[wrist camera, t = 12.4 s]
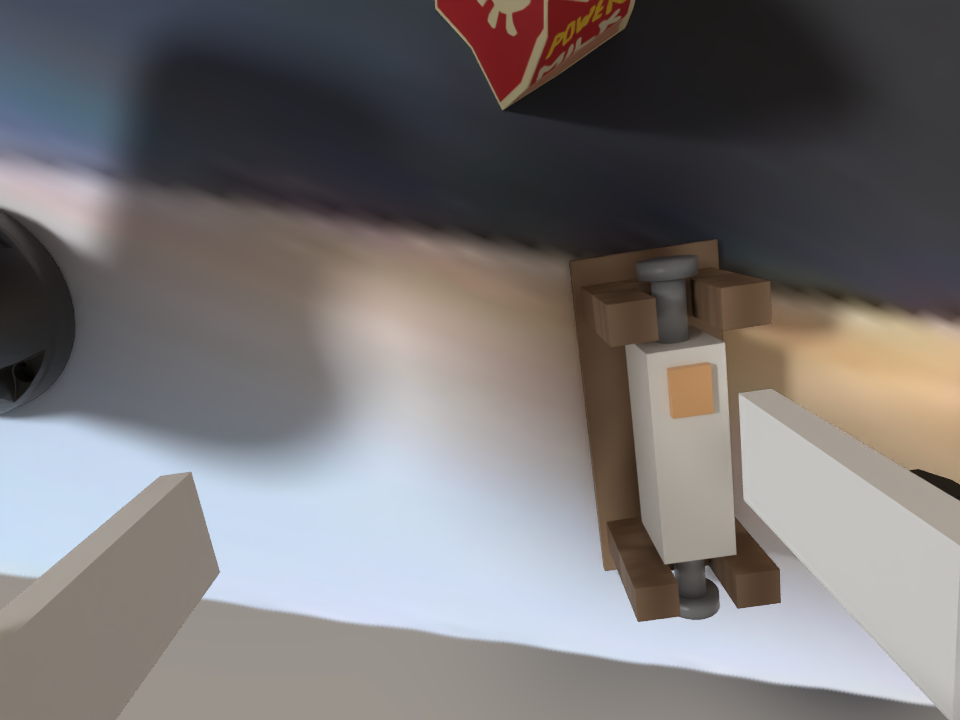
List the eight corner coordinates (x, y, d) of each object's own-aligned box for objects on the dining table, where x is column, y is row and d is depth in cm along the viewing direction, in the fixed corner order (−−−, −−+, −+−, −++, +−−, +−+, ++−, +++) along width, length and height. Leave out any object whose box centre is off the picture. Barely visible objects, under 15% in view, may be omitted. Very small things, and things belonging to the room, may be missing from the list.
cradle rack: (603, 566, 47) (632, 647, 39) (569, 261, 42) (594, 274, 33) (730, 549, 47) (789, 626, 38) (713, 239, 41) (778, 246, 33)
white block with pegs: (647, 581, 45) (673, 637, 39) (617, 261, 39) (641, 270, 33) (708, 573, 45) (743, 627, 39) (687, 250, 39) (724, 257, 33)
